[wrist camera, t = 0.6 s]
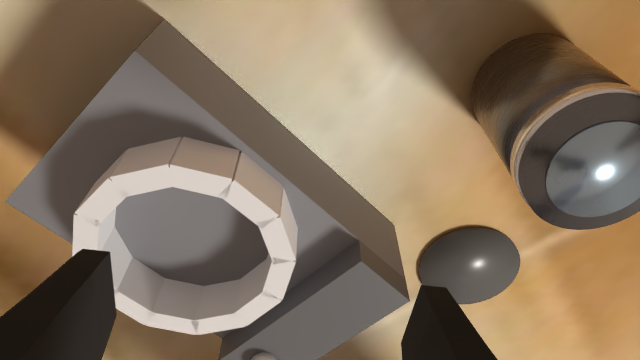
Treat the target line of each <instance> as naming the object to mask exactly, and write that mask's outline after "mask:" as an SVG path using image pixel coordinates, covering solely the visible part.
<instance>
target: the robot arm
mask: <svg viewBox="0 0 640 360" xmlns="http://www.w3.org/2000/svg"><path fill="white" fill-rule="evenodd" d="M115 318H116V305H115V295H114V285H113V275H112V265H111V255H110V252H109V251H99V250H90V249H81V250H80V251H79V252H77V253H76V254H75V255H74V256H73V257H71V258H70V259H69V260H68V261H67V262H66V263H65V264H63V265H62V266H61V267H60V268H59V269H58V270H56V271H55V272H54V273H53V274H52V275H51V276H50V277H48V278H47V279H46V280H45V281H44V282H43V283H41V284H40V285H39V286H38V287H37V288H35V289H34V290H33V291H32V292H31V293H30V294H28V295H27V296H26V297H25V298H23V299H22V300H21V301H20V302H18V303H17V304H16V305H15V306H14V307H12V308H11V309H10V310H9V311H7V312H6V313H5V314H4V315H3V316H1V317H0V360H101V359H102V357H103V354H104V351H105V348H106V345H107V342H108V339H109V336H110V333H111V330H112V327H113V324H114V321H115ZM401 347H402V360H497V358H496V357H495V356H494V354H493V353H492V352H491V350H490V349H489V348H488V346H487V345H486V343H485V342H484V341H483V339H482V338H481V337H480V335H479V334H478V332H477V331H476V329H475V328H474V327H473V325H472V324H471V322H470V321H469V319H468V318H467V317H466V315H465V314H464V312H463V311H462V309H461V308H460V306H459V305H458V303H457V302H456V301H455V299H454V298H453V296H452V295H451V293H450V292H449V291H448V289H447V288H446V287H436V286H427V285H421V287H420V290H419V293H418V296H417V299H416V301H415V304H414V307H413V310H412V313H411V316H410V319H409V322H408V324H407V327H406V330H405V333H404V336H403V339H402V342H401Z"/></svg>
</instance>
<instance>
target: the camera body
mask: <svg viewBox="0 0 640 360" xmlns="http://www.w3.org/2000/svg"><path fill="white" fill-rule="evenodd" d="M5 202H6V203H8V204H9V205H11V206H12V207H14V208H16V209H17V210H19V211H20V212H22V213H24V214H25V215H27V216H28V217H30V218H32V219H33V220H35V221H36V222H38V223H40V224H41V225H43V226H44V227H46V228H47V229H49V230H51V231H52V232H54V233H55V234H57V235H59V236H60V237H62V238H63V239H65V240H67V241H68V242H70V243H71V244H73V251H72V257H73V256H74V255H75V254H76V253H77V252H79V251H80V250H81V249H90V250H99V251H109V252H110V255H111V265H112V275H113V285H114V295H115V305H116V309H118V310H119V311H121V312H123V313H124V314H126V315H128V316H129V317H131V318H133V319H134V320H136V321H138V322H139V323H141V324H143V325H145V324H146V326H149V327H155V328H160V329H165V330H171V331H176V332H182V333H187V334H192V335H196V333H197V334H198V335H202V334H208V333H215V334H216V335H218V336H219V337H221V338H223V339H222V344H221V349H220V354H219V359H218V360H317V359H319V358H320V357H322V356H323V355H325V354H327V353H328V352H330V351H331V350H333V349H334V348H336V347H338V346H339V345H341V344H342V343H344V342H346V341H347V340H349V339H350V338H352V337H353V336H355V335H357V334H358V333H360V332H361V331H363V330H365V329H366V328H368V327H369V326H371V325H373V324H374V323H376V322H377V321H379V320H380V319H382V318H384V317H385V316H387V315H388V314H390V313H392V312H393V311H395V310H396V309H398V308H399V307H401V306H403V305H404V304H406V303H407V302H409V301H410V299H409V295H408V290H407V285H406V280H405V275H404V271H403V266H402V261H401V256H400V251H399V246H398V242H397V237H396V232H395V227H394V225H393V224H392V223H391V222H390V221H389V220H388V219H386V218H385V217H384V216H383V215H382V214H381V213H380V212H379V211H378V210H376V209H375V208H374V207H373V206H372V205H371V204H370V203H369V202H368V201H366V200H365V199H364V198H363V197H362V196H361V195H360V194H359V193H358V192H356V191H355V190H354V189H353V188H352V187H351V186H350V185H349V184H347V183H346V182H345V181H344V180H343V179H342V178H341V177H340V176H339V175H337V174H336V173H335V172H334V171H333V170H332V169H331V168H330V167H329V166H327V165H326V164H325V163H324V162H323V161H322V160H321V159H320V158H319V157H317V156H316V155H315V154H314V153H313V152H312V151H311V150H310V149H309V148H307V147H306V146H305V145H304V144H303V143H302V142H301V141H300V140H298V139H297V138H296V137H295V136H294V135H293V134H292V133H291V132H290V131H288V130H287V129H286V128H285V127H284V126H283V125H282V124H281V123H280V122H278V121H277V120H276V119H275V118H274V117H273V116H272V115H271V114H270V113H268V112H267V111H266V110H265V109H264V108H263V107H262V106H261V105H259V104H258V103H257V102H256V101H255V100H254V99H253V98H252V97H251V96H249V95H248V94H247V93H246V92H245V91H244V90H243V89H242V88H241V87H239V86H238V85H237V84H236V83H235V82H234V81H233V80H232V79H231V78H229V77H228V76H227V75H226V74H225V73H224V72H223V71H222V70H221V69H219V68H218V67H217V66H216V65H215V64H214V63H213V62H212V61H210V60H209V59H208V58H207V57H206V56H205V55H204V54H203V53H202V52H200V51H199V50H198V49H197V48H196V47H195V46H194V45H193V44H192V43H190V42H189V41H188V40H187V39H186V38H185V37H184V36H183V35H182V34H180V33H179V32H178V31H177V30H176V29H175V28H174V27H173V26H171V25H170V24H169V23H168V22H167V21H166V20H165V19H164V20H163V21H162V22H161V23H160V24H159V25H158V26H157V27H156V29H155V30H154V31H153V32H152V33H151V34H150V35H149V36H148V37H147V38H146V39H145V40H144V41H143V42H142V43H141V44H140V45H139V46H138V48H137V49H136V50H135V51H134V52H133V53H132V54H131V55H130V57H129V58H128V59H127V60H126V61H125V62H124V64H123V65H122V66H121V67H120V68H119V69H118V71H117V72H116V73H115V74H114V75H113V76H112V78H111V79H110V80H109V81H108V82H107V83H106V85H105V86H104V87H103V88H102V89H101V90H100V91H99V93H98V94H97V95H96V96H95V97H94V98H93V100H92V101H91V102H90V103H89V104H88V105H87V107H86V108H85V109H84V110H83V111H82V112H81V114H80V115H79V116H78V117H77V118H76V119H75V121H74V122H73V123H72V124H71V125H70V126H69V128H68V129H67V130H66V131H65V132H64V133H63V135H62V136H61V137H60V138H59V139H58V140H57V142H56V143H55V144H54V145H53V146H52V147H51V149H50V150H49V151H48V152H47V153H46V154H45V156H44V157H43V158H42V159H41V160H40V161H39V163H38V164H37V165H36V166H35V167H34V168H33V170H32V171H31V172H30V173H29V174H28V175H27V177H26V178H25V179H24V180H23V181H22V182H21V183H20V185H19V186H18V187H17V188H16V189H15V190H14V192H13V193H12V194H11V195H10V196H9V197H8V199H7V200H6V201H5Z"/></svg>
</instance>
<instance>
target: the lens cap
mask: <svg viewBox="0 0 640 360" xmlns="http://www.w3.org/2000/svg"><path fill="white" fill-rule="evenodd" d="M519 267H520V256H519V253H518V250H517V248H516V246H515V244H514V243H513V242H512V240H511V239H510V238H508V237H507V236H506V235H504V234H503V233H501V232H499V231H497V230H493V229H490V228H484V227H470V228H463V229H459V230H456V231H453V232H450V233H448V234H446V235H444V236H442V237H440V238H439V239H437V240H436V241H435V242H434V243H432V244H431V245H430V246H429V247H428V249H427V250H426V251H425V253H424V254H423V256H422V259H421V261H420V265H419V275H420V279H421V282H422V285H427V286H436V287H446V288H447V289H448V291H449V292H450V293H451V295H452V296H453V298H454V299H455V301H456V302H457V303H458V304H472V303H477V302H481V301H484V300H487V299H490V298H492V297H494V296H496V295H498V294H499V293H501V292H502V291H503V290H505V289H506V288H507V287H508V286H509V285H510V284H511V283H512V281H513V280H514V279H515V277H516V275H517V273H518V271H519Z"/></svg>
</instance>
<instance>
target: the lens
mask: <svg viewBox="0 0 640 360" xmlns="http://www.w3.org/2000/svg"><path fill="white" fill-rule="evenodd" d="M471 100H472V108H473V111H474V114H475V116H476V118H477V120H478V122H479V123H480V125H481V127H482V128H483V130H484V132H485V133H486V135H487V137H488V138H489V140H490V142H491V143H492V145H493V146H494V148H495V150H496V151H497V153H498V155H499V156H500V158H501V160H502V161H503V163H504V164H505V166H506V168H507V169H508V171H509V173H510V174H511V176H512V178H513V181H514V183H515V185H516V187H517V189H518V191H519V192H520V194H521V196H522V197H523V199H524V200H525V201H526V203H527V204H528V205H529V206H530V207H531V208H532V210H533V211H534V212H535V213H536V214H537V215H538V216H539V217H540V218H542V219H543V220H545V221H546V222H548V223H550V224H552V225H555V226H558V227H561V228H567V229H576V230H584V229H594V228H600V227H604V226H608V225H611V224H614V223H617V222H619V221H622V220H624V219H626V218H628V217H630V216H632V215H634V214H636V213H637V212H639V211H640V91H639V90H638V89H636V88H633V87H631V86H630V85H629V84H627V83H626V82H624V81H623V80H622V79H620V78H619V77H618V76H616V75H615V74H613V73H612V72H611V71H609V70H608V69H607V68H605V67H604V66H603V65H601V64H600V63H598V62H597V61H596V60H594V59H593V58H592V57H590V56H589V55H587V54H586V53H585V52H583V51H582V50H581V49H579V48H578V47H576V46H575V45H574V44H572V43H571V42H569V41H568V40H566V39H564V38H562V37H559V36H556V35H552V34H531V35H526V36H523V37H519V38H517V39H515V40H512V41H510V42H508V43H507V44H505V45H503V46H502V47H500V48H499V49H498V50H496V51H495V52H494V53H493V54H492V55H491V56H490V57H489V58H488V59H487V60H486V61H485V63H484V64H483V66H482V67H481V68H480V70H479V72H478V74H477V76H476V78H475V81H474V84H473V88H472V95H471Z"/></svg>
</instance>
